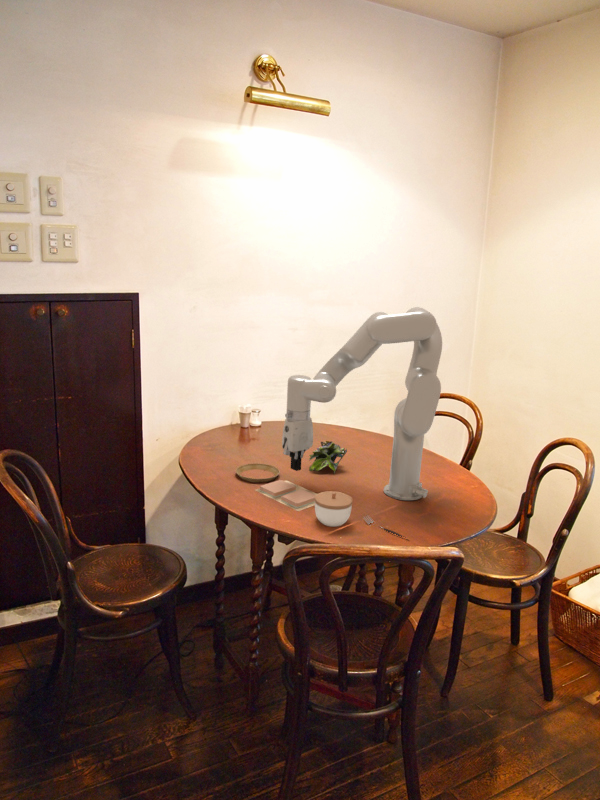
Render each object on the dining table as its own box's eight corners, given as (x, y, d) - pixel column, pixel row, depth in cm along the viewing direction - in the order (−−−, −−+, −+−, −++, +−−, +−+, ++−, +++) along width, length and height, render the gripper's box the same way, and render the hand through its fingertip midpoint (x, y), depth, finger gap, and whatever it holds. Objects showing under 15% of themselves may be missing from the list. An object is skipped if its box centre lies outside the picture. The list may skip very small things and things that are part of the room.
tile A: (318, 496, 190) (297, 503, 184) (318, 501, 191) (296, 508, 185) (302, 489, 195) (281, 496, 189) (302, 494, 196) (281, 500, 189)
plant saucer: (226, 475, 210) (227, 468, 209) (261, 467, 219) (262, 460, 219) (252, 489, 199) (252, 482, 198) (288, 480, 208) (288, 473, 208)
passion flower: (323, 482, 224) (341, 449, 227) (341, 488, 213) (359, 454, 216) (297, 465, 219) (315, 432, 222) (314, 471, 208) (333, 436, 211)
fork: (406, 543, 169) (407, 536, 168) (361, 522, 180) (362, 516, 179) (412, 540, 170) (412, 534, 170) (367, 520, 181) (368, 514, 181)
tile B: (295, 486, 197) (274, 493, 191) (295, 491, 198) (274, 497, 191) (281, 479, 202) (259, 486, 196) (280, 484, 202) (259, 490, 196)
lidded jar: (348, 516, 183) (350, 486, 181) (352, 532, 172) (355, 501, 170) (312, 514, 182) (314, 485, 180) (314, 531, 172) (316, 499, 170)
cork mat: (330, 501, 193) (330, 499, 192) (297, 513, 183) (297, 511, 183) (286, 481, 206) (286, 480, 206) (254, 491, 197) (254, 490, 197)
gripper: (289, 421, 188) (287, 478, 193) (323, 413, 199) (319, 467, 203) (272, 415, 193) (270, 471, 198) (306, 408, 204) (303, 461, 208)
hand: (295, 469), depth 200 cm, fingers closed
